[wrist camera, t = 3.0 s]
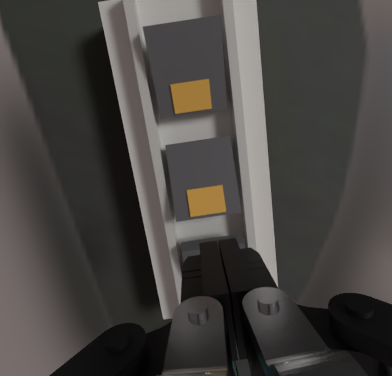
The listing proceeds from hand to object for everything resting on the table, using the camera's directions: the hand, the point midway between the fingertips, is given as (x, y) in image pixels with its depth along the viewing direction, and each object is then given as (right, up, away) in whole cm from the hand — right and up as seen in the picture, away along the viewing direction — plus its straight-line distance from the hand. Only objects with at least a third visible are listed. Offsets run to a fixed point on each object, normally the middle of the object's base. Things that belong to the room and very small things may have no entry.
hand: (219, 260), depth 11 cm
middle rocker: (0, +4, +7) cm, 8 cm away
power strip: (-1, +5, +12) cm, 13 cm away
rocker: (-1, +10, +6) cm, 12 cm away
